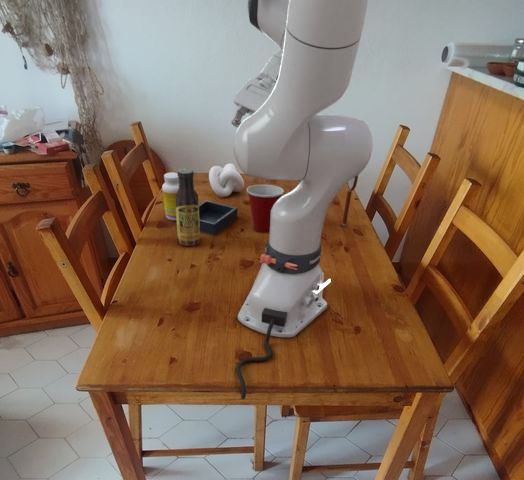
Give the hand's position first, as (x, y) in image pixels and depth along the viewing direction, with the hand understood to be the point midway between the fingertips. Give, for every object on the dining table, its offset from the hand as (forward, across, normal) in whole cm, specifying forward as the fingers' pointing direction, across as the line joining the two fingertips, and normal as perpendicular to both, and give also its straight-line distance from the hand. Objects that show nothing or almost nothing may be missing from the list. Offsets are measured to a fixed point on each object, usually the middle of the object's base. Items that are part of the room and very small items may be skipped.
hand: (242, 129), depth 104 cm
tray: (+24, -12, +17) cm, 31 cm away
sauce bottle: (+31, -3, +9) cm, 33 cm away
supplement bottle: (+29, -20, +11) cm, 37 cm away
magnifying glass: (-2, +9, +42) cm, 43 cm away
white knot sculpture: (+14, -31, +27) cm, 43 cm away
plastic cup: (+14, -1, +26) cm, 30 cm away
